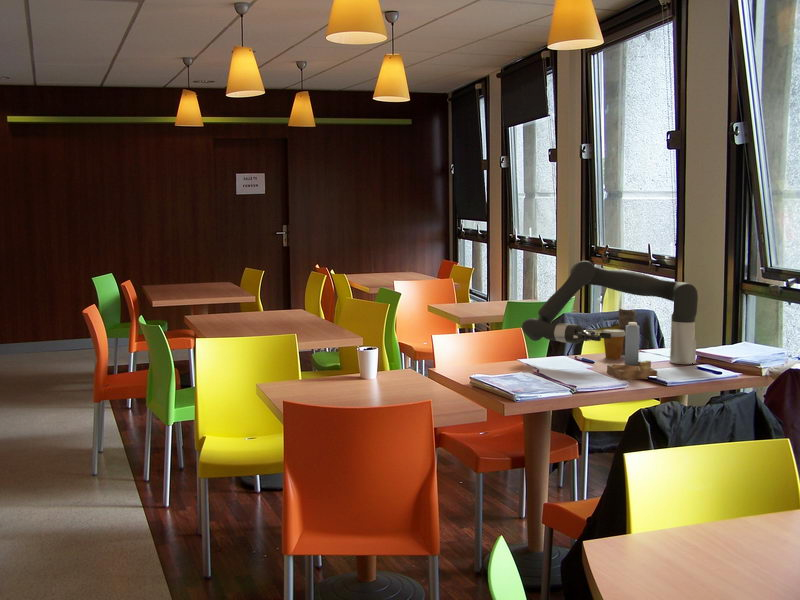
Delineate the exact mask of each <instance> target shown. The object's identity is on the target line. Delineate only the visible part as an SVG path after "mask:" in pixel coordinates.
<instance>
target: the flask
mask: <svg viewBox="0 0 800 600" xmlns="http://www.w3.org/2000/svg"><path fill="white" fill-rule="evenodd" d="M639 352H640V325H638V322H636V323H635V322H629V323H628V325H626V335H625V355H624V361H625V365H631V366H638V362H639V360H640V359H639V358H640V357H639V354H640V353H639Z"/></svg>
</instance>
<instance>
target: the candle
mask: <svg viewBox="0 0 800 600" xmlns="http://www.w3.org/2000/svg"><path fill="white" fill-rule="evenodd" d="M636 319H637V316H636V310H635V309H631V310H630V309H622V308H619V309H618V329H619V330H624V331H625V335H626V325H628V323H629V322H635V323H637V322H636V321H637V320H636ZM623 354H625V336H624V341H623V348H622V354H621V355H623Z"/></svg>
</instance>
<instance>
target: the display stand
mask: <svg viewBox="0 0 800 600" xmlns="http://www.w3.org/2000/svg"><path fill="white" fill-rule="evenodd" d="M623 362H624V364H621V363H613V364H606V373H607V374H609V375H611V376H612V377H613V376H614V377H615V378H617V379H619V380H621V381H622V380H649V379H648V378H647V377H649V376H657V377H658V370H656V369H654V368H652V361H651V360H644V361H643V360H642V361H638V366H631V365H625V360H624V361H623Z"/></svg>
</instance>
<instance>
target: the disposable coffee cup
mask: <svg viewBox="0 0 800 600" xmlns="http://www.w3.org/2000/svg"><path fill="white" fill-rule="evenodd" d="M602 331H603V332H604V333H611V339H606V338H603V343H604V344H603V345H604V354H605V358H606V359H607V358H609V359H608V360H621V359H622V355H623V354H622V348H623V341H624V336H625V331H624V330H619V328H618V329H617V328H609V329H608V328H606V329H603V330H602Z"/></svg>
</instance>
